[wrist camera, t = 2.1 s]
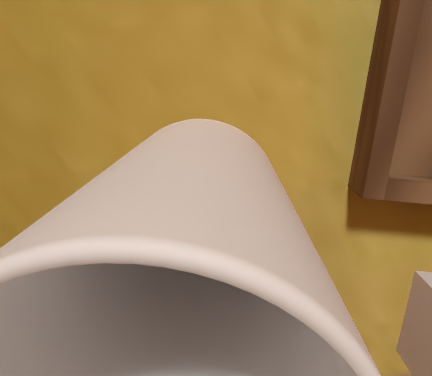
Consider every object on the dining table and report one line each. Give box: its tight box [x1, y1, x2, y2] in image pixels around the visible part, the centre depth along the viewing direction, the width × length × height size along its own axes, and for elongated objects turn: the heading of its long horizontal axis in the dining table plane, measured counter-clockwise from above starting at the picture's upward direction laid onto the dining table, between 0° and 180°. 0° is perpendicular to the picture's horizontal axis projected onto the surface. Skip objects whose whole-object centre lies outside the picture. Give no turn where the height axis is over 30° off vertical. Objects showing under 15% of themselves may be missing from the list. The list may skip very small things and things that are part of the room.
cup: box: [0, 119, 381, 376], centre depth 14 cm, size 8×8×16 cm
